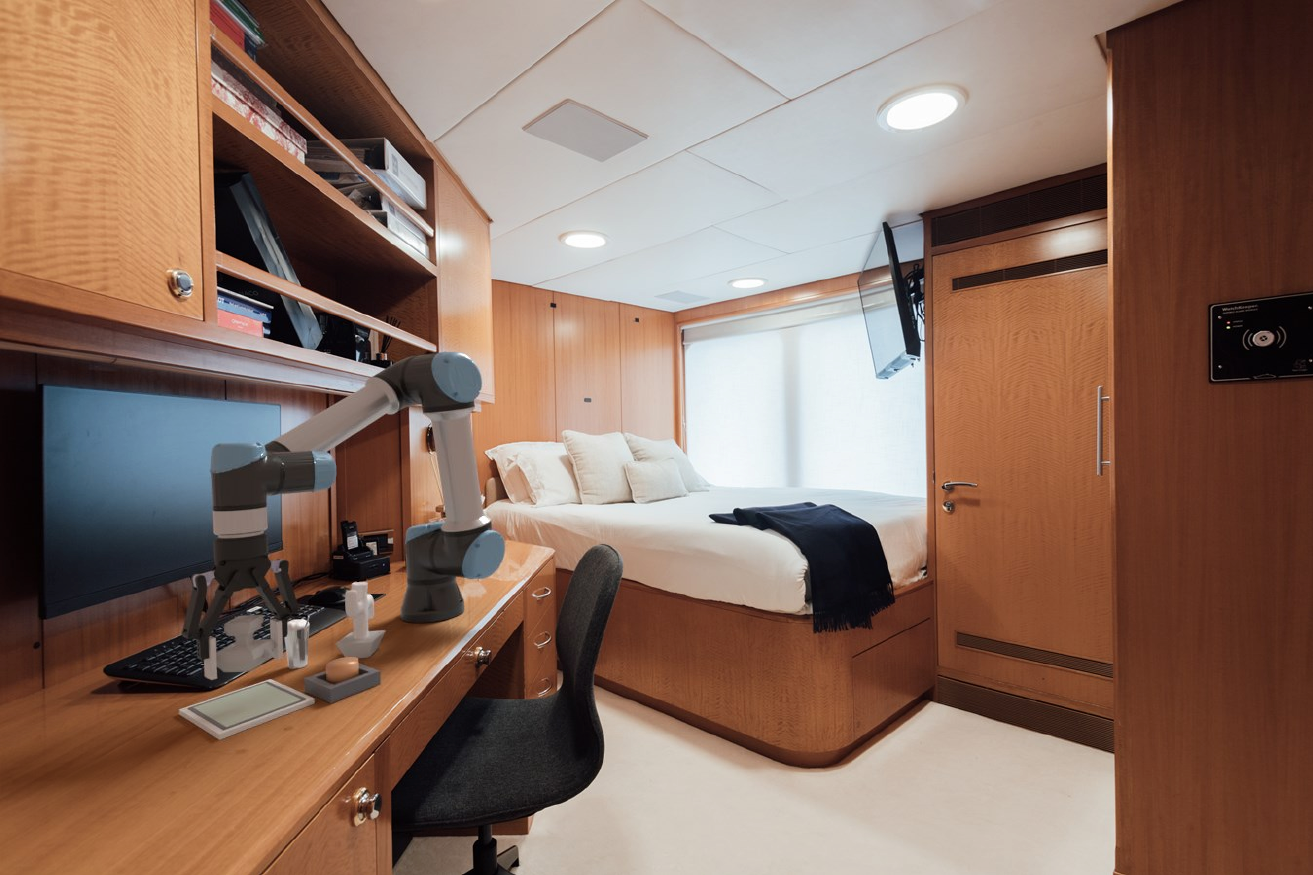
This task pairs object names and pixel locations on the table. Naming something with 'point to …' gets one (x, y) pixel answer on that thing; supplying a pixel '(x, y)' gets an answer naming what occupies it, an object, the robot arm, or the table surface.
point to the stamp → (244, 645)
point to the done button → (342, 670)
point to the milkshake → (297, 643)
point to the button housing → (342, 684)
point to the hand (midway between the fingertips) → (245, 666)
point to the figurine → (360, 624)
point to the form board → (245, 708)
